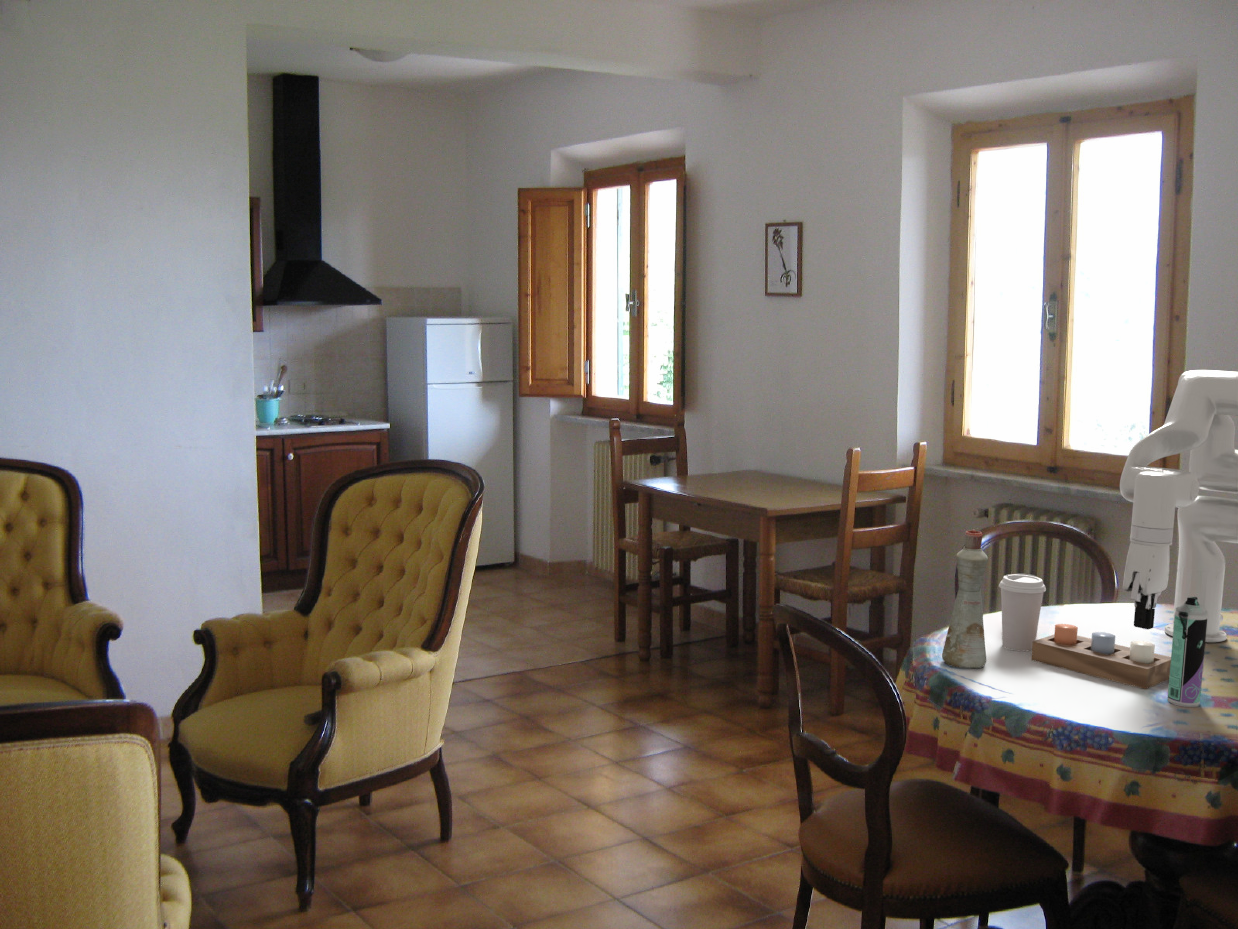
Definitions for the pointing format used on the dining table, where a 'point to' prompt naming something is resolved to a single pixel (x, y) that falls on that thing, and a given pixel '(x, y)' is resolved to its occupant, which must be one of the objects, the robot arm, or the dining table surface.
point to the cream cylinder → (1142, 652)
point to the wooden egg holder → (1102, 662)
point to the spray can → (1187, 654)
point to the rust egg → (1065, 634)
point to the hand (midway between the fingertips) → (1143, 627)
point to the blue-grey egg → (1103, 642)
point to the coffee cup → (1020, 610)
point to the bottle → (968, 608)
